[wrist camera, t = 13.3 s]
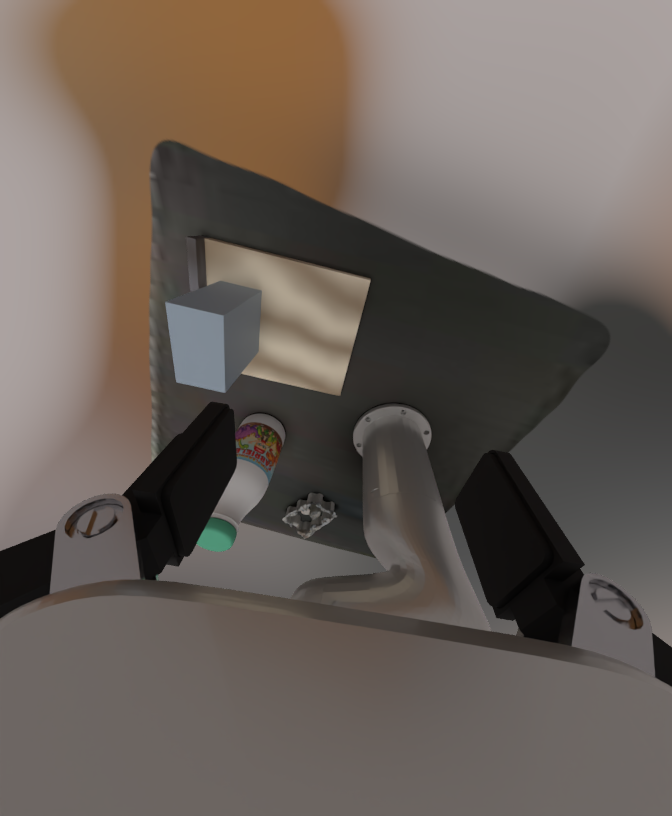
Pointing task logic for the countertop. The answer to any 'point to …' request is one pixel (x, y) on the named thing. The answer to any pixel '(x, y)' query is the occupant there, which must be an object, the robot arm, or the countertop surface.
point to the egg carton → (310, 514)
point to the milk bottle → (245, 479)
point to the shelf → (289, 311)
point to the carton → (214, 334)
